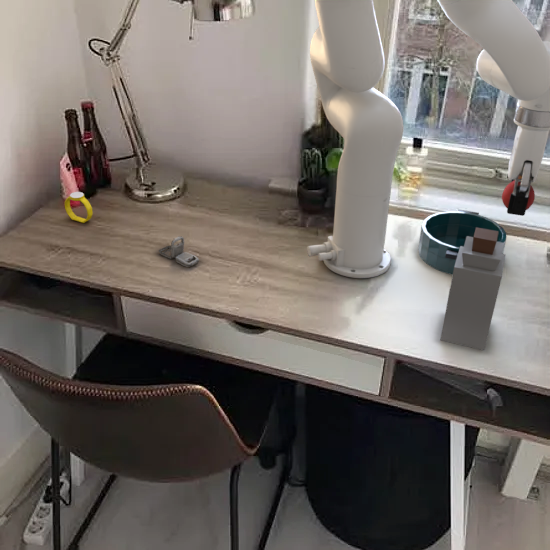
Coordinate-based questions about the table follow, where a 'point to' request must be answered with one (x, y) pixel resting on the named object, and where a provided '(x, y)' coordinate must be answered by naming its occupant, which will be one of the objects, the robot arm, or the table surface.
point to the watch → (80, 197)
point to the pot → (451, 236)
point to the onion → (509, 190)
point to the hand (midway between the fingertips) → (516, 205)
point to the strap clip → (179, 253)
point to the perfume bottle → (474, 290)
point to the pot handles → (452, 253)
